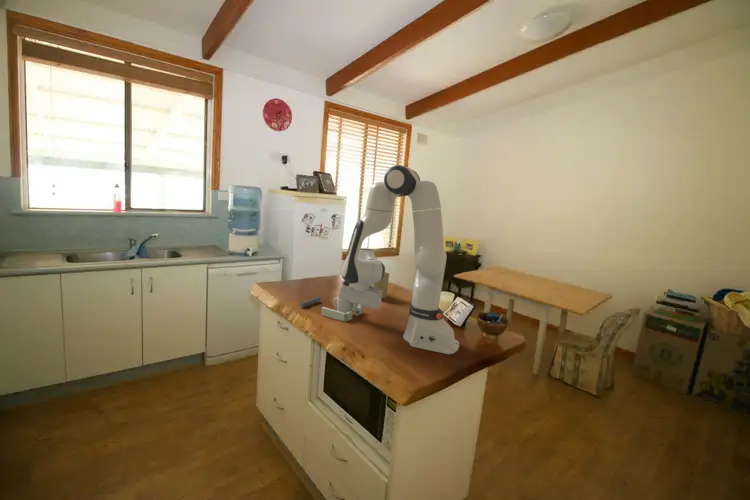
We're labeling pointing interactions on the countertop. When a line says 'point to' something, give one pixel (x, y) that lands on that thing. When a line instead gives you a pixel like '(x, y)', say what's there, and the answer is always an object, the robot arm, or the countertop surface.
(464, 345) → the countertop surface
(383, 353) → the countertop surface
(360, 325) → the countertop surface
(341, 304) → the cup
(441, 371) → the countertop surface
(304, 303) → the rail
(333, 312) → the cradle
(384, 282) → the khaki rectangular box
